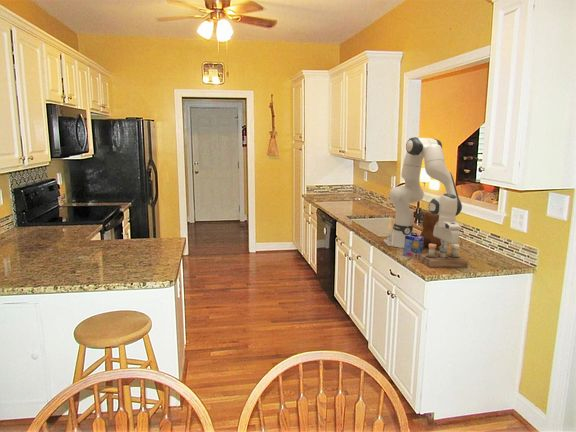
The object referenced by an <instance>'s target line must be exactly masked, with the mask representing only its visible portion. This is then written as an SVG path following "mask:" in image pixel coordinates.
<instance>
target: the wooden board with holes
mask: <svg viewBox="0 0 576 432" xmlns="http://www.w3.org/2000/svg"><path fill="white" fill-rule="evenodd" d="M428 254H429V253H423V254H418V258H417V262H420V263H422V264H423V265H424V266H427V267H428V268H430V269H438V268H439V269H441V268H442V269H446V268H448V269H449V268H451V269H453V268H455V267H467V268H468V263H469V260H468V259H465V258H463V257H461V256H459V255H457V257H451V253H446V258H440V253H435V256H434V257H428Z"/></svg>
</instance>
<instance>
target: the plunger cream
mask: <svg viewBox="0 0 576 432" xmlns="http://www.w3.org/2000/svg"><path fill="white" fill-rule="evenodd" d="M450 247H451V253H450V254H451V257H457V256H458V253H459V249H460V244H458V243H457V244H451V246H450Z"/></svg>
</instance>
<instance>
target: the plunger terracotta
mask: <svg viewBox="0 0 576 432" xmlns="http://www.w3.org/2000/svg"><path fill="white" fill-rule="evenodd" d="M436 249H437V248H436V244H432V243H430V244H429V248H428V253H427V254H428V257H434V256H435V254H436Z"/></svg>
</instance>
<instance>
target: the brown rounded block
mask: <svg viewBox="0 0 576 432" xmlns="http://www.w3.org/2000/svg"><path fill="white" fill-rule="evenodd" d="M437 221H439V215H434V214H432V213H431V212H430V211H429V209H427V210H425V212H424V215H423V222H422V230H421V233H420V235H419V236H421V237H424V244H423V247H424V248H428V249H429V244H430V243H432V244H436V249H437V248H438V249H439V248H440V247H441V239H439V238H437V237H434V236H433V231H434V226H435V225H436V222H437Z"/></svg>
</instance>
